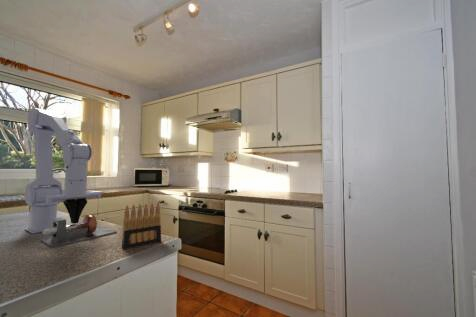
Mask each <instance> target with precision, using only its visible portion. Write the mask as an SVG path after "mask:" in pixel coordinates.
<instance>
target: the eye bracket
mask: <svg viewBox="0 0 476 317" xmlns="http://www.w3.org/2000/svg"><path fill="white" fill-rule="evenodd" d="M66 225H67V219H66V218H62V217H57V218H54V219H53V221H52V228H55V227H57V233H55V234H51V237H47V238H41V239H40V242H41V243H43V244H45V245H47V247H49V248H51V249H54V248H58V247H63V246H66V245H71V244H74V243H78V242H79V243H80V242H83V241H87V240H88V241H89V240H92V239H97V238H100V237H101V238H102V237H105V236H109V235H115V234H117V233H118V231H116V230H114V229H110V228H107V227H104V226H101V227H98V228H97V227H96V231H95V232H94V233H90V234H86V228H82V229H76V230H71V231H66Z"/></svg>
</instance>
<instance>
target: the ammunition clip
mask: <svg viewBox="0 0 476 317" xmlns="http://www.w3.org/2000/svg"><path fill="white" fill-rule="evenodd" d="M137 207H138V208H137V211H136V206H135V204H133V205H132V207H131V210H130V209H129V205H126V206H125V209H124V216H123V221H122V222H123V223H122V224H123V226H122V237H121V238H122V240H121V249H122V250H128V249H134V248H137V247H144V246H148V245H152V244H158V243H161V242H162V225H161V207H160V203H159V202H157V203H156V206H154V203H153V202H151V204H150V207H148V204H147V203H145V204H144V208H143V209H142V204H141V203H140V204H139V205H138V206H137ZM130 212H131V214H130ZM136 213H137V215H136Z"/></svg>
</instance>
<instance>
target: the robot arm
mask: <svg viewBox="0 0 476 317" xmlns="http://www.w3.org/2000/svg"><path fill="white" fill-rule="evenodd" d="M27 128H28V132H29V133H31V134H32V135H33V141H34V160H35V178H34V179H33V180H32V181H29V182H28V183H27V184H26V185H25V192H24V202H25V203H26V204H27V205H28V206H29V207H30V210H29V215H28V227H25V228H24V229H25V230H26V231H28V232H29V233H31V234H36V233H42V232H43V230H45V229H49V228H52V221H53V219H54V218H58V215H57V214H58V205H59V204H60V202H62V203H63V205H64V206H65V208H66V210H67V213H68V215H69V216H68V217H69V219H70V223H71V224H78V223H79V221H80V218H81V215H82V212H83V210H84V208H85V207H86V205H87V204H88V200H90V199H101V198H102V192H101V191H93V192H87V186H88V185H87V184H88V181H87V180H88V162H89V161H90V160H91V157H92V155H93V154H92V153H93V150H92V148H91V145H90V144H89V143H83V142H82V140H81V139H80V138H79V136H78V134H76V131H74V130H70V129H69V128H68V125H67V116H66V115H65V113H64V112H58V111H52V110H48V109H44V108H43V109H41V108H37V107H34V106H33V107H31V108H30V110H29V111H28V115H27ZM53 136H55V139H56V141H57V143H58V144H59V146H60V148H61V149H62V150H61V151H62V152H61V155H62V159H63V166H64V167H65V172H64V174H65V175H64V176H65V179H64V188H63V183H62V182H61V181H60V180H58V179H56V178H55V177H54V166H53V165H54V164H53V147H52V145H53V144H52V143H53V142H52V138H53Z"/></svg>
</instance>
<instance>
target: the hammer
mask: <svg viewBox="0 0 476 317" xmlns="http://www.w3.org/2000/svg"><path fill="white" fill-rule="evenodd" d="M97 225H98V221H97V218H96V216H95V215H94V214H90V215H89V214H88V215H85V216H84V218H83V220H82V222H80V223H79V222H78V223H75V224H73V223H71V224H68V225H67V224H66V231H71V230H76V229H82V228H86V234H90V233H94V232H95V231H96V228H97ZM41 233H42V235H44V236H48V235H52V234H55V233H57V227H55V228H49V229H45V230H43V232H41Z"/></svg>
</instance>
